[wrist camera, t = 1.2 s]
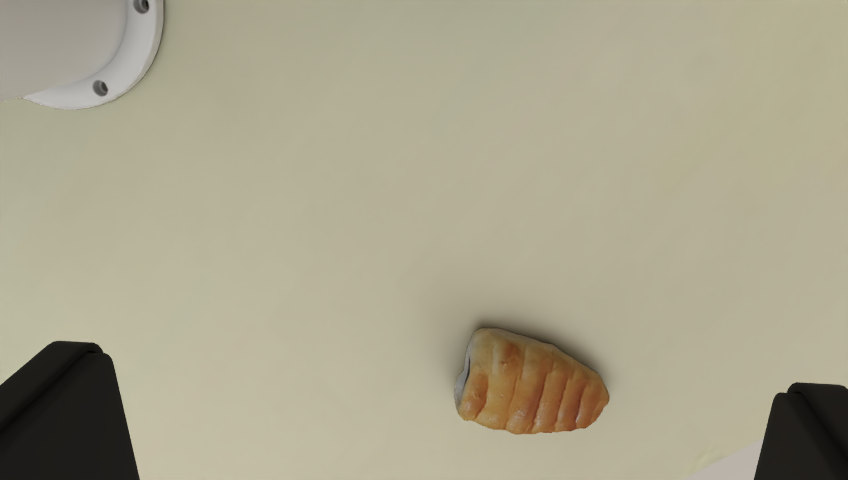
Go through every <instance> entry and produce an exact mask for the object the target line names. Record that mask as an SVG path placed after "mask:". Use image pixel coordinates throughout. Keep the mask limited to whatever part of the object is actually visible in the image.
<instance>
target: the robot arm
mask: <svg viewBox="0 0 848 480" xmlns="http://www.w3.org/2000/svg"><path fill="white" fill-rule="evenodd" d="M147 1H148V3H149V8H148V7H147V6H146V0H0V103H2V102H5V101H9V100H12V99H16V98H19V97H22V98H24V99H27V100H29V101H32V102H34V103H36V104H39V105H43V106H48V107H52V108H57V109H77V110H78V109H83V108H89V107H95V106H98V105H101V104H104V103H107V102H109V101H112V100H114V99H116V98H118V97H119V96H121V95H123V94H125V93H126V92H128V91H129V90H130V89H131V88H132V87H134V86H135V85H136V84H137V83H138V82H139V81H140V80H141V79H142V78H143V76H144V75H145V73H146V72H147V70H148V69H149V67H150V66H151V64H152V63H153V60H154V58H155V55H156V52H157V50H158V47H159V45H160V40H161V34H162V28H163V23H164V21H163V0H147ZM106 85H107V87H106ZM0 480H140V479H139V474H138V470H137V466H136V461H135V457H134V452H133V448H132V444H131V439H130V435H129V430H128V426H127V422H126V417H125V413H124V408H123V404H122V400H121V395H120V391H119V387H118V382H117V378H116V373H115V369H114V365H113V361H112V359H111V357H110V356H109V355H108V354H105V353H103V351H102V349H101V348H100V347H99V345H97V344H95V343H88V342H70V341H55V342H52V343H51V344H49V345H47V346H46V347H45V348H44V349H43V350H42V351H40V352H39V353H38V354H37V355H36V356H34V357H33V358H32V359H31V360H30V361H29V362H27V363H26V364H25V365H24V366H23V367H21V368H20V369H19V370H18V371H17V372H15V373H14V374H13V375H12V376H11V377H10V378H8V379H7V380H6V381H5V382H4V383H2V384H1V385H0ZM754 480H848V389H847V388H846V387H844V386H841V385H833V384H815V383H797V382H796V383H794V384H792V385H791V386H790V387H789V389H788V391H787V393H778V394H777V395H776V396H775V397H774V400H773V403H772V407H771V411H770V415H769V419H768V424H767V428H766V432H765V436H764V440H763V444H762V449H761V453H760V457H759V461H758V465H757V469H756V474H755V477H754Z"/></svg>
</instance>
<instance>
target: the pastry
mask: <svg viewBox="0 0 848 480" xmlns="http://www.w3.org/2000/svg"><path fill="white" fill-rule="evenodd" d="M609 397H610V396H609V393H608V390H607V388H606V387H605V385H604V383H603V381H602V379H601V377H600V375H599V374H598V373H597V372H595V371H593V370H591V369H589V368H588V367H587V366H585V365H583V364H580V363H579V362H578V361H577V360H576V359H574V358H573V357H571V356H568V355H566V354H565V353H563V352H562V351H560V350H559V349H558V348H557V347H556V346H554V345H553V344H550V343H546V344H544V343H543V342H540V341H538V340H536V339H533V338H529V337H526V336H524V335H518V334H514V333H511V332H510V331H507V330H503V329H499V328H492V329H489V328H486V329H479V330H477V331H475V332H474V334H473V336H472V339H471V341H470V342H469V345H468V347H467V351H466V358H465V365H464V370H463V372H462V373H461V374H460V376H459V377H458V379H457V381H456V387H455V390H454V398H455V403H456V409H457V411H458V414H459V415H460V417H462V418H463V419H464V420H466V421H468V420H471V421H474V422H476V423H478V424H480V425H482V426H485V427H488V428H491V429H498V430H506V431H509V432H511V433H513V434H536V433H539V432H543V433H552V432H561V431H573V430H575V429H579V428H586V427H588V426H589V425H591V424H592V423H593V422H594V421H596V419H597V418H598V417H599V415H600V414H601V412H602V410H603V408H604V407H605V406H606V405H607V404H608V402H609Z"/></svg>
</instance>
